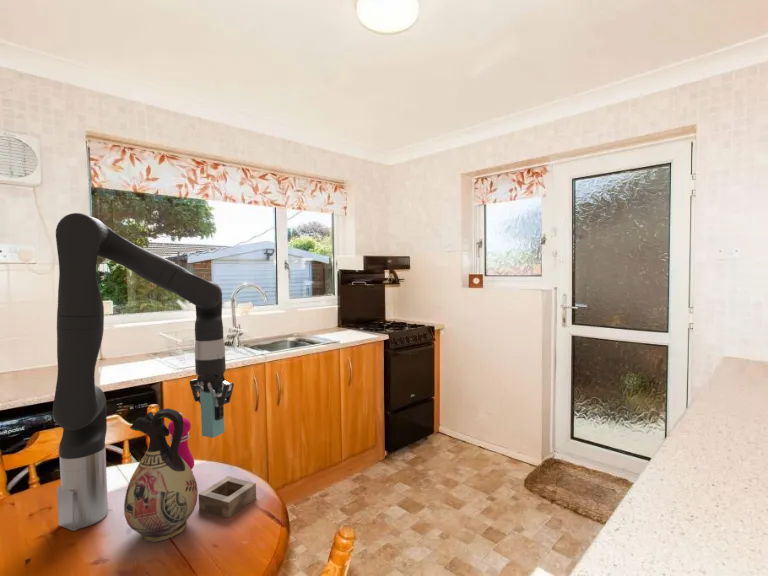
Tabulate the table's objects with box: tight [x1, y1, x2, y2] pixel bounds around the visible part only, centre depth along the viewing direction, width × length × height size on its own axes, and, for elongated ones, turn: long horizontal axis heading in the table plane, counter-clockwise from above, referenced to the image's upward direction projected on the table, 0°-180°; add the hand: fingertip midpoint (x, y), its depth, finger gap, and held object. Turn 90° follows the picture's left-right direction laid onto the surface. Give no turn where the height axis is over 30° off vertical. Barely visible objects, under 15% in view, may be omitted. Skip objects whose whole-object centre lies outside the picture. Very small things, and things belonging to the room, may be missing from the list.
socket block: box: [198, 475, 257, 519], centre depth 110 cm, size 10×10×4 cm
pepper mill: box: [167, 412, 195, 474], centre depth 123 cm, size 7×7×20 cm
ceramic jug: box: [123, 408, 199, 543], centre depth 98 cm, size 17×15×30 cm
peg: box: [200, 391, 225, 439], centre depth 114 cm, size 4×4×12 cm
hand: (212, 417), depth 114 cm, fingers closed on peg, 4 cm apart
